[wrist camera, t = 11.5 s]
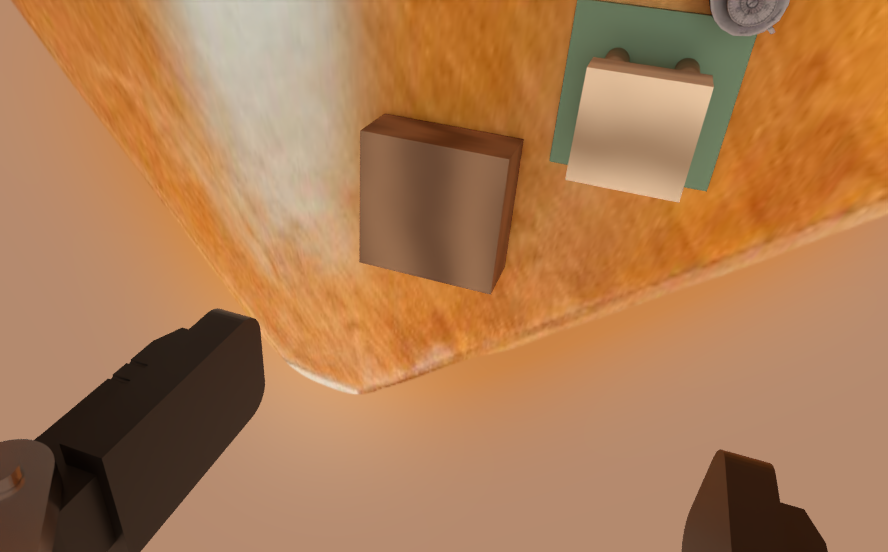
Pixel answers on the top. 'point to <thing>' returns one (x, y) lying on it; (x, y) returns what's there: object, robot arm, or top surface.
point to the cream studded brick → (638, 125)
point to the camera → (747, 15)
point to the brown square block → (437, 200)
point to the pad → (661, 45)
